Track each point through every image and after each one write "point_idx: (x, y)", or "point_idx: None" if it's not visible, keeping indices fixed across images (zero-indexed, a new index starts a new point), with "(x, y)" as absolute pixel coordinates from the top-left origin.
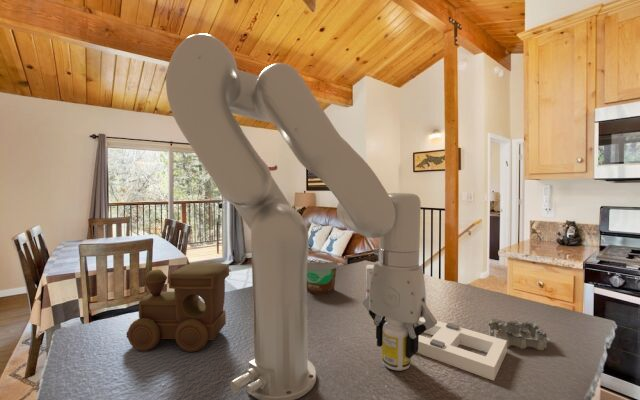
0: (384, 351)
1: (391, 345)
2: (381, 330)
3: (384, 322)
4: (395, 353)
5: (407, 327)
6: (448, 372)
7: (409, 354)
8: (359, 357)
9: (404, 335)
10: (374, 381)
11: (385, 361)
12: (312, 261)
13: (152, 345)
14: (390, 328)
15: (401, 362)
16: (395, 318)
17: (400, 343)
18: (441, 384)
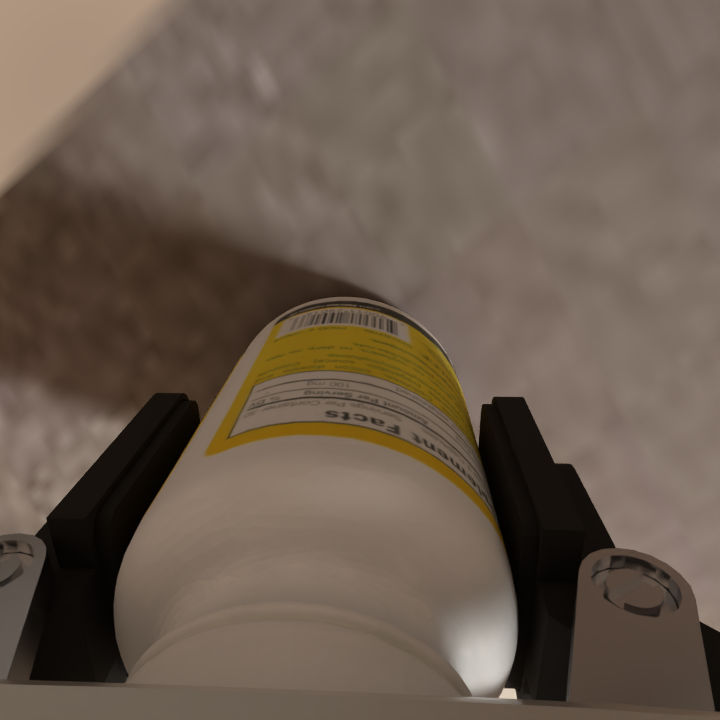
0: (408, 354)
1: (304, 379)
2: (512, 522)
3: (534, 672)
4: (271, 356)
5: (8, 647)
6: (35, 518)
7: (146, 413)
8: (648, 291)
9: (134, 538)
10: (369, 63)
11: (388, 313)
12: None
13: None
14: (326, 541)
15: (244, 355)
16: (54, 710)
17: (199, 438)
18: None
